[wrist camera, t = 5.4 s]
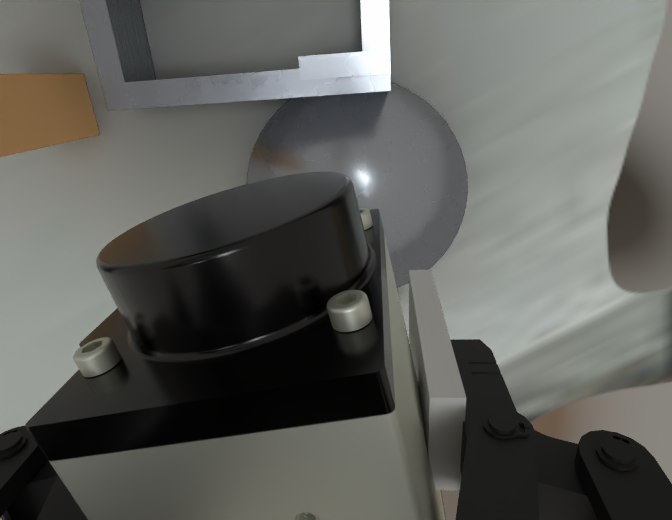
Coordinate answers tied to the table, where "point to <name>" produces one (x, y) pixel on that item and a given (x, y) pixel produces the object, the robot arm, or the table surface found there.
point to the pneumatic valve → (247, 368)
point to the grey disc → (374, 156)
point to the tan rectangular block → (43, 111)
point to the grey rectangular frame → (146, 92)
